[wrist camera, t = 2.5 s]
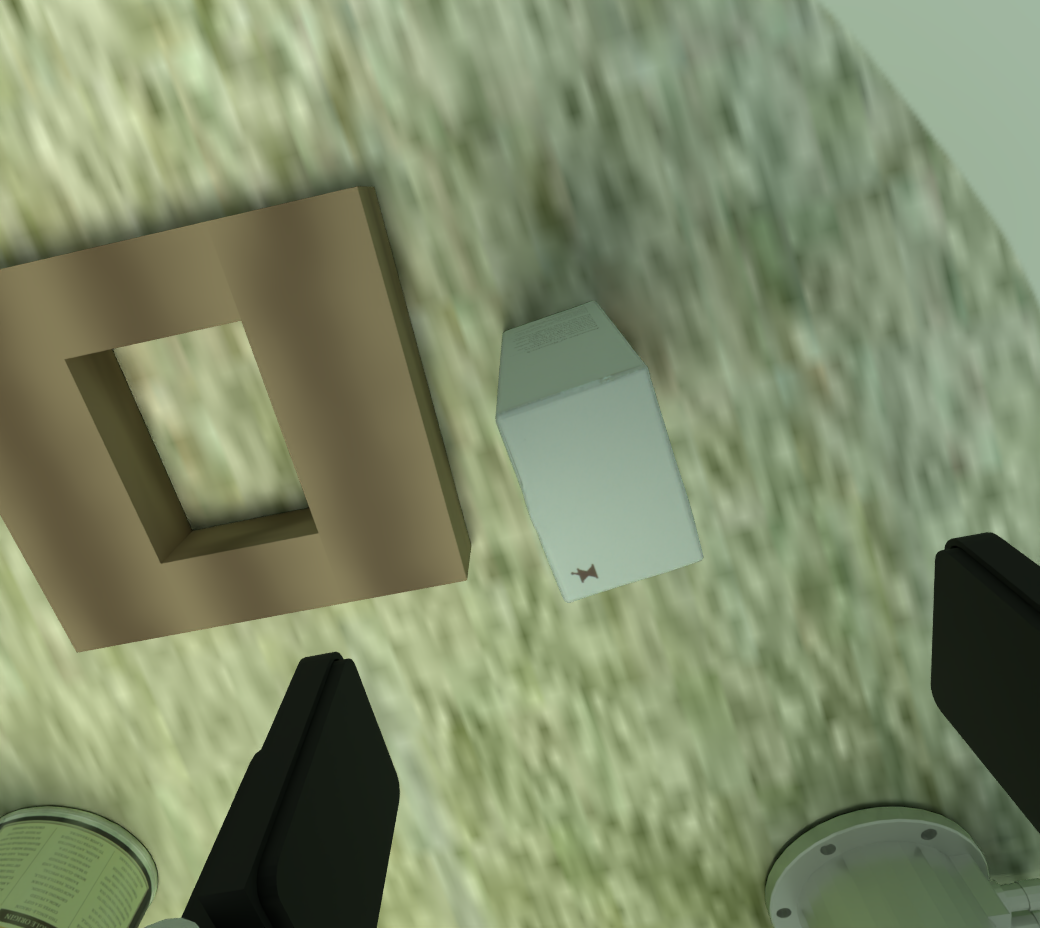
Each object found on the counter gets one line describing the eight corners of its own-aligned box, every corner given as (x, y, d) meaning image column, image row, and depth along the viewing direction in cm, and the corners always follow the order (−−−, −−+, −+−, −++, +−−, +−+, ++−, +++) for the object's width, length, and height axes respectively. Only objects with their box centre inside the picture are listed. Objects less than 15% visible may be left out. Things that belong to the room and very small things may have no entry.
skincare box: (637, 426, 30) (709, 567, 19) (545, 456, 30) (562, 611, 19) (596, 292, 28) (651, 362, 16) (498, 328, 28) (486, 418, 17)
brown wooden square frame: (374, 186, 26) (357, 186, 23) (471, 546, 32) (466, 580, 29) (-56, 286, 27) (-121, 297, 25) (113, 613, 33) (76, 652, 30)
